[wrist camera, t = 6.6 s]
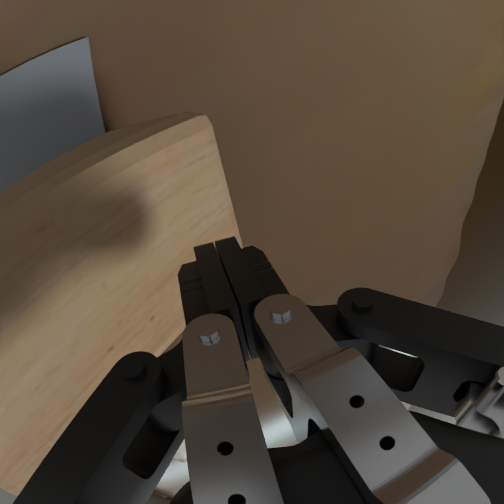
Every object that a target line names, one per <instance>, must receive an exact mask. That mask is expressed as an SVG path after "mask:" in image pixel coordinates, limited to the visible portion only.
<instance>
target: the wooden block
mask: <svg viewBox="0 0 504 504" xmlns="http://www.w3.org/2000/svg"><path fill="white" fill-rule="evenodd" d="M232 236H235V238H236V240H237V241H238V243H239V245H240V247H241V249H242V248H243V246H242V242H241V238H240V234H239V231H238V227H237V223H236V219H235V215H234V211H233V207H232V203H231V199H230V195H229V191H228V187H227V183H226V179H225V175H224V171H223V167H222V163H221V159H220V155H219V151H218V147H217V143H216V139H215V135H214V131H213V127H212V124H211V123H210V121H209V120H208V118H207V116H206V115H202V114H197V113H191V112H186V113H181V114H176V115H171V116H167V117H162V118H158V119H154V120H149V121H145V122H141V123H137V124H134V125H130V126H126V127H122V128H119V129H115V130H112V131H109V132H107V133H104V134H102V135H100V136H98V137H96V138H94V139H92V140H90V141H88V142H86V143H84V144H82V145H80V146H78V147H76V148H74V149H72V150H70V151H68V152H66V153H64V154H62V155H61V156H59V157H57V158H55V159H53V160H52V161H50V162H48V163H46V164H45V165H43V166H41V167H39V168H38V169H36V170H34V171H33V172H31V173H29V174H28V175H26V176H24V177H23V178H21V179H20V180H18V181H17V182H15V183H13V184H12V185H10V186H9V187H7V188H6V189H4V190H3V191H1V192H0V488H1V489H3V490H5V491H7V492H9V493H11V494H13V495H15V496H18V495H19V494H20V492H21V491H22V489H23V488H24V486H25V485H26V484H27V482H28V481H29V479H30V478H31V476H32V475H33V473H34V472H35V471H36V469H37V468H38V466H39V465H40V464H41V462H42V461H43V459H44V458H45V457H46V455H47V454H48V452H49V451H50V450H51V448H52V447H53V445H54V444H55V443H56V441H57V440H58V439H59V437H60V436H61V434H62V433H63V432H64V430H65V429H66V428H67V426H68V425H69V424H70V422H71V421H72V420H73V418H74V417H75V416H76V414H77V413H78V412H79V410H80V409H81V408H82V406H83V405H84V404H85V402H86V401H87V400H88V398H89V397H90V396H91V395H92V393H93V392H94V391H95V389H96V388H97V387H98V385H99V384H100V383H101V382H102V380H103V379H104V378H105V376H106V375H107V374H108V373H109V371H110V370H111V369H112V367H113V366H114V365H115V364H116V363H117V361H118V360H120V359H121V358H122V357H124V356H125V355H127V354H129V353H132V352H137V351H145V352H149V353H151V354H153V355H154V356H156V357H159V356H160V355H161V354H162V353H163V352H164V350H165V349H166V348H167V347H168V346H169V345H170V344H171V343H172V342H173V341H174V340H175V339H176V338H177V336H178V335H179V334H180V333H181V332H182V331H183V330H184V329H185V327H186V323H185V318H184V312H183V306H182V300H181V293H180V287H179V281H178V272H179V270H180V268H181V266H182V264H186V263H190V262H193V261H196V257H195V253H194V249H193V247H195V246H198V245H202V244H206V243H210V242H213V243H214V246H215V242H214V241H217V240H221V239H225V238H229V237H232Z"/></svg>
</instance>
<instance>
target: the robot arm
mask: <svg viewBox="0 0 504 504" xmlns="http://www.w3.org/2000/svg"><path fill="white" fill-rule="evenodd" d="M214 242H215V246H214V243H213V242H210V243H206V244H202V245H198V246H195V247H193V249H194V253H195V257H196V261H193V262H190V263H186V264H182V266H181V268H180V270H179V272H178V281H179V287H180V293H181V300H182V306H183V312H184V318H185V323H186V327H185V329H184V331H183V336H182V340H181V341H180V343H179V344H178V345H177V346H175V347H174V348H173V349H171V350H170V351H168V352H166V353H164V354H162V355H161V356H159V357H156V356H154V355H153V354H151V353H149V352H145V351H137V352H132V353H129V354H127V355H125V356H124V357H122V358H121V359H120V360H118V361H117V363H116V364H115V365H114V366H113V367H112V369H111V370H110V371H109V373H108V374H107V375H106V376H105V378H104V379H103V380H102V382H101V383H100V384H99V385H98V387H97V388H96V389H95V391H94V392H93V393H92V395H91V396H90V397H89V398H88V400H87V401H86V402H85V404H84V405H83V406H82V408H81V409H80V410H79V412H78V413H77V414H76V416H75V417H74V418H73V420H72V421H71V422H70V424H69V425H68V426H67V428H66V429H65V430H64V432H63V433H62V434H61V436H60V437H59V439H58V440H57V441H56V443H55V444H54V445H53V447H52V448H51V450H50V451H49V452H48V454H47V455H46V457H45V458H44V459H43V461H42V462H41V464H40V465H39V466H38V468H37V469H36V471H35V472H34V473H33V475H32V476H31V478H30V479H29V481H28V482H27V484H26V485H25V486H24V488H23V489H22V491H21V492H20V494H19V495H18V497H17V498H16V500H15V501H14V503H13V504H146V502H147V500H148V499H149V497H150V496H151V494H152V492H153V491H154V489H155V487H156V486H157V484H158V482H159V481H160V479H161V478H162V476H163V474H164V473H165V471H166V469H167V468H168V466H169V464H170V462H171V461H172V459H173V457H174V456H175V454H176V452H177V451H178V449H179V447H180V446H181V444H182V442H183V440H184V439H185V447H186V455H187V463H188V470H189V477H190V481H189V482H188V483H186V484H185V485H184V486H183V487H182V488H181V489H180V490H179V491H178V492H177V494H176V495H175V496H174V498H173V499H172V501H171V502H170V504H504V327H502V326H499V325H495V324H492V323H488V322H485V321H481V320H477V319H474V318H470V317H467V316H463V315H460V314H456V313H452V312H449V311H445V310H442V309H439V308H435V307H432V306H428V305H425V304H421V303H418V302H414V301H411V300H407V299H404V298H400V297H397V296H393V295H390V294H386V293H383V292H379V291H376V290H372V289H368V288H354V289H350V290H348V291H346V292H344V293H343V294H342V295H341V296H340V297H339V299H338V302H337V305H326V306H309V305H306V304H305V303H304V302H303V301H302V300H301V299H300V298H298V297H296V296H293V295H290V294H289V292H288V291H287V289H286V287H285V286H284V284H283V283H282V281H281V279H280V278H279V276H278V275H277V273H276V272H275V270H274V269H273V267H272V265H271V264H270V262H269V261H268V259H267V257H266V256H265V254H264V253H263V251H261V250H259V249H258V248H256V247H254V246H249V247H245V248H242V249H241V247H240V245H239V243H238V241H237V240H236V238H235V236H232V237H229V238H225V239H221V240H217V241H214ZM379 345H382V346H385V347H388V348H392V349H395V350H398V351H401V352H404V353H407V354H411V355H414V356H417V357H418V358H415V357H411V356H407V355H404V354H401V353H398V352H395V351H392V350H389V349H385V348H382V347H379ZM247 348H248V350H247ZM248 351H249V353H250V356H251V359H254V358H258V357H260V360H261V362H262V365H263V368H264V373H265V377H266V379H267V381H268V383H269V385H270V387H271V389H272V391H273V393H274V394H275V396H276V398H277V400H278V402H279V404H280V406H281V407H282V409H283V411H284V413H285V415H286V417H287V418H288V420H289V422H290V424H291V426H292V429H293V432H294V435H295V438H296V440H297V442H298V444H297V445H294V446H288V447H279V448H268V449H267V445H266V442H265V438H264V435H263V431H262V428H261V424H260V421H259V417H258V413H257V410H256V406H255V402H254V399H253V395H252V391H251V387H250V384H249V372H248V368H247V364H246V361H248V360H250V359H249V355H248ZM401 401H402V402H405V403H408V404H412V405H415V406H418V407H422V408H425V409H428V410H431V411H435V412H438V413H441V414H445V415H449V416H452V417H455V420H456V425H454V424H451V423H448V422H444V421H441V420H438V419H435V418H432V417H429V416H426V415H423V414H420V413H417V412H413V411H408V410H407V409H406V407H405V406H404V405H403V404H402V403H401Z"/></svg>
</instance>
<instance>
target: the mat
mask: <svg viewBox="0 0 504 504" xmlns="http://www.w3.org/2000/svg"><path fill="white" fill-rule="evenodd" d="M104 133H106V131H105V127H104V123H103V118H102V113H101V109H100V104H99V99H98V94H97V88H96V83H95V77H94V72H93V65H92V59H91V52H90V45H89V38H88V37H86V38H83V39H80V40H78V41H75V42H72V43H70V44H67V45H65V46H62V47H60V48H57V49H55V50H52V51H50V52H48V53H46V54H43V55H41V56H39V57H37V58H35V59H32V60H30V61H28V62H26V63H24V64H22V65H20V66H18V67H16V68H15V69H13V70H11V71H9V72H7V73H5V74H3V75H2V76H0V192H1V191H3V190H4V189H6V188H7V187H9V186H10V185H12V184H13V183H15V182H17V181H18V180H20V179H21V178H23V177H24V176H26V175H28V174H29V173H31V172H33V171H34V170H36V169H38V168H39V167H41V166H43V165H45V164H46V163H48V162H50V161H52V160H53V159H55V158H57V157H59V156H61V155H62V154H64V153H66V152H68V151H70V150H72V149H74V148H76V147H78V146H80V145H82V144H84V143H86V142H88V141H90V140H92V139H94V138H96V137H98V136H100V135H102V134H104Z"/></svg>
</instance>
